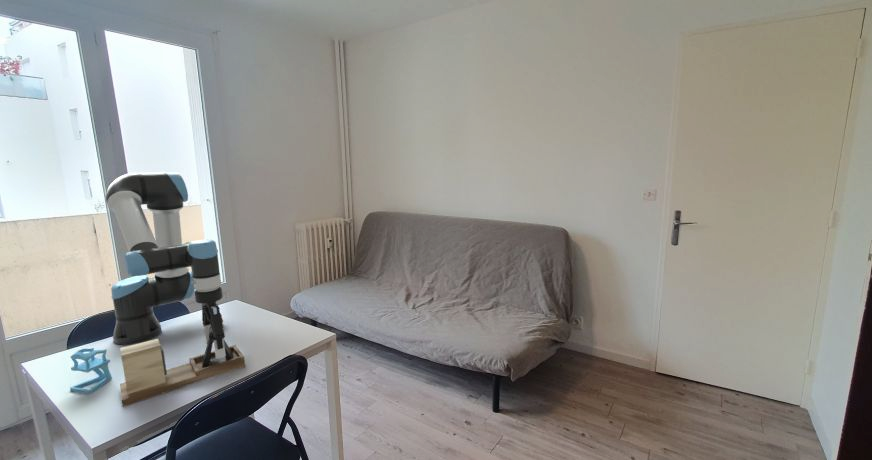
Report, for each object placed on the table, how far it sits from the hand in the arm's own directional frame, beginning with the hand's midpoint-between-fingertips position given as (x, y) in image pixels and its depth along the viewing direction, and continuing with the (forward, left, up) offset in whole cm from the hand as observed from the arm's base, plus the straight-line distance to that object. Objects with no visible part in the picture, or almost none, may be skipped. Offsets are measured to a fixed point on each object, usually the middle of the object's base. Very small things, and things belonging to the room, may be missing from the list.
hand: (215, 349), depth 126 cm
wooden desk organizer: (0, -9, -6) cm, 11 cm away
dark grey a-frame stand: (0, 0, -4) cm, 4 cm away
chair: (-15, -31, -6) cm, 35 cm away
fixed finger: (0, -19, -4) cm, 19 cm away
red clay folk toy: (-37, +6, -7) cm, 38 cm away
